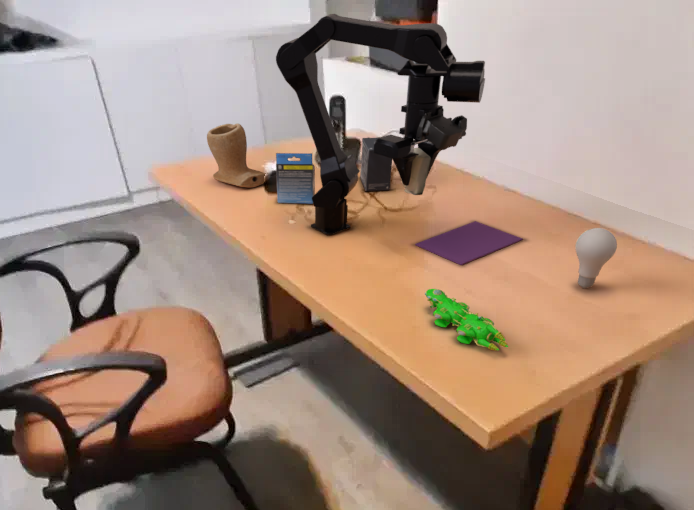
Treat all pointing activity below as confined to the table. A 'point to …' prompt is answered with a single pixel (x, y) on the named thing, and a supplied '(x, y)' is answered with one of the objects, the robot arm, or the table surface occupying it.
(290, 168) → the tape cartridge
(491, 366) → the table surface
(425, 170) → the grey rounded block
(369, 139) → the small box
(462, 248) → the felt cloth
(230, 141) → the tan boot-shaped vase
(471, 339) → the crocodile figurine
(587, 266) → the lightbulb
